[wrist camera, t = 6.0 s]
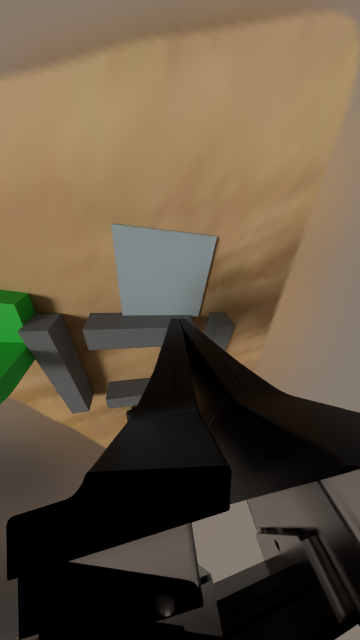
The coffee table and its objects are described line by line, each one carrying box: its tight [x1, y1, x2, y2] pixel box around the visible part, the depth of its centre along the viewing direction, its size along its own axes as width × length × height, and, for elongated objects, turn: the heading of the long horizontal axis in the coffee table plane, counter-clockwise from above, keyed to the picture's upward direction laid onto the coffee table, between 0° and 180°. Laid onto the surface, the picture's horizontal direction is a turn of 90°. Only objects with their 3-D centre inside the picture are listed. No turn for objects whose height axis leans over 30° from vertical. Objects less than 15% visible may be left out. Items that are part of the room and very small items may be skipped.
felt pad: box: [111, 224, 217, 317], centre depth 14 cm, size 8×8×1 cm
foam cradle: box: [17, 313, 235, 414], centre depth 19 cm, size 14×19×2 cm
